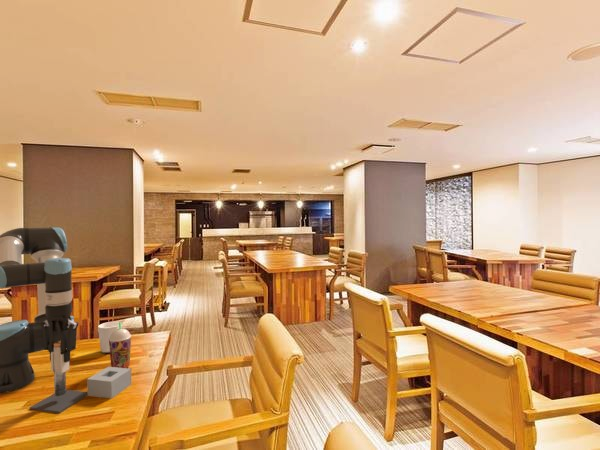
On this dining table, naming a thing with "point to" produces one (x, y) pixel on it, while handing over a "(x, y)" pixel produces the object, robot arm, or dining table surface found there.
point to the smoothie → (120, 348)
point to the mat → (59, 401)
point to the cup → (106, 334)
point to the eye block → (109, 382)
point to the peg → (58, 371)
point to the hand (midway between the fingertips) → (60, 370)
